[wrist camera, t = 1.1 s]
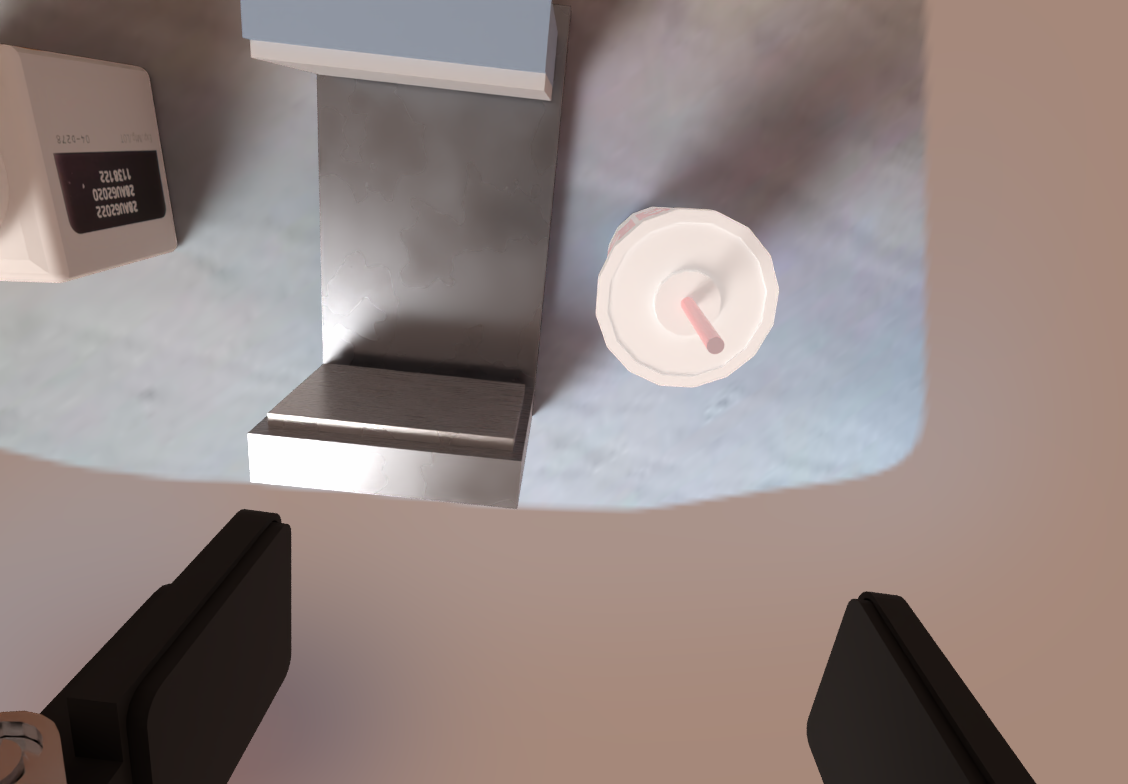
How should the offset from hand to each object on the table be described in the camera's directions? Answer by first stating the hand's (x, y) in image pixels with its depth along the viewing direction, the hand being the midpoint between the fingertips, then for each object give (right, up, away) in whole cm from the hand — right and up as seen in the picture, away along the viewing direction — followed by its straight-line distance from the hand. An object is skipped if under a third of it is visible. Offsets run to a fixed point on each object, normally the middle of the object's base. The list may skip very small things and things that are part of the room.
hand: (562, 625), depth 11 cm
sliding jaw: (-5, +17, +16) cm, 24 cm away
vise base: (-6, +12, +19) cm, 23 cm away
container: (-21, +14, +19) cm, 32 cm away
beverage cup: (+4, +10, +20) cm, 23 cm away
